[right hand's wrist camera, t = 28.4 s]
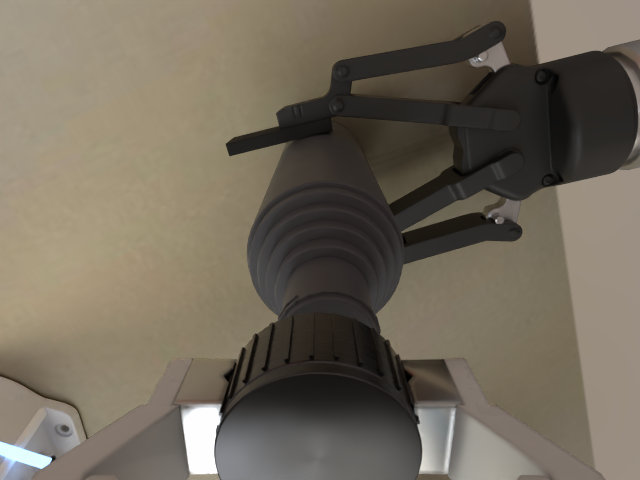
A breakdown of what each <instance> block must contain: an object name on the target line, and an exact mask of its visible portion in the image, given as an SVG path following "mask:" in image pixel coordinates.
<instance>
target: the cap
mask: <svg viewBox="0 0 640 480" xmlns="http://www.w3.org/2000/svg"><path fill="white" fill-rule="evenodd" d="M228 383H229V389H228V392H227V395H226V399H225V402H224V405H223V409H220V412H219V416H221V419H220V423H219V426H218V428H216V431H215V434H216V438H215V443H214V459H215V466H216V469H217V472H218V476H219V478H220V480H416V478H417V476H418V474H419V470H420V466H421V462H422V451H423V450H422V440H421V437H420V433H419V429H418V426H417V424H420V421H419V418H415V415H414V411H413V408H412V406H414V404H413V401H412V397H411V394H410V390H409V387H408V383H407V380H406V376H405V373H404V369H403V366H402V362H401V359H400V356H399V354H398V355H396V353H395V352H394V350H393V349H392V347H391V345H390V342H389V340H385V339H384V338H383V337H382V336H381V335H380V334H378V333H377V332H376V331H375V329H374V328H373V327H372V328H370V327H369V326H367V325H365V324H363V323H362V322H360V321H357V319H355V318H353V319H352V318H349V317H346V316H342V315H337V314H336V313H314V312H311V313H305V314H299V315H295V316H293V315H291V316H289V317H287V318H285V319H282V320H280V321H277V322H275V323H273V322H272V323H271V324H270V325H269V326H268V327H266V328H265V329H264V330H262V331H261V332H259V333H258V334H254V335H253V339H252V340H251V341H250V342H249V343H248V344H247V346H246V347H245V348H243V347H242V349H241V351H240V355H239V358H238V361H237V364H236V365H235V368H234V372H233V374H231V375H230V378H229V381H228Z"/></svg>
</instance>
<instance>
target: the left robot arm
mask: <svg viewBox="0 0 640 480" xmlns="http://www.w3.org/2000/svg"><path fill="white" fill-rule="evenodd" d="M505 34H506V29H505V26H504V24H503V23H501V22H499V21H494V22H490V23H486V24H483V25H479V26H477V27H475V28H473V29H471V30H470V31H468V32H466V33H465V34H463V35H461V36H459V37H458V38H456V39H454V40H452V41H448V42H442V43H436V44H431V45H425V46H419V47H414V48H408V49H402V50H397V51H391V52H385V53H380V54H374V55H368V56H363V57H357V58H351V59H346V60H341V61H338V62H336V63H335V64H334V66H333V68H332V76H331V85H330V89H329V91H328V93H327V94H326V95H324V96H323V97H320V98H316V99H312V100H308V101H304V102H300V103H296V104H292V105H288V106H285V107H283V108H282V109H281V110H279V111H278V112H277V113H276V115H277V119H278V123H279V126H278V127H274V128H270V129H266V130H262V131H258V132H254V133H250V134H246V135H242V136H238V137H234V138H233V139H231V140H230V141H229V142H228V143H226V147H227V150H228V153H229V156H232V155H236V154H240V153H244V152H248V151H252V150H256V149H260V148H265V147H269V146H273V145H277V144H281V143H285V142H289V141H293V140H297V139H301V138H305V137H309V136H313V135H317V134H321V133H325V132H329V131H333V128H332V123H331V117H335V116H342V117H355V118H367V119H380V120H392V121H405V122H417V123H430V124H441V125H447V126H449V132H450V135H451V138H452V140H453V142H454V152H453V162H454V165H453V166H451V167H449V168H448V169H446V170H444V171H443V172H442V173H441V174H440V176H438V177H437V178H435V179H433V180H431V181H430V182H428V183H426V184H424V185H423V186H421V187H419V188H417V189H416V190H414V191H412V192H410V193H409V194H407V195H405V196H403V197H402V198H400V199H398V200H396V201H395V202H393V203H391V204H389V207H390V209H391V211H392V213H393V215H394V217H395V219H396V221H397V224H398V226H399V228H400V231H403V230H404V229H406V228H408V227H410V226H412V225H413V224H415V223H417V222H419V221H421V220H422V219H424V218H426V217H428V216H430V215H431V214H433V213H435V212H437V211H439V210H440V209H442V208H444V207H446V206H448V205H449V204H451V203H453V202H455V201H457V200H463V199H466V198H468V197H470V196H472V195H474V194H476V193H477V192H479V191H481V190H483V189H485V190H487V191H490V192H492V193H494V194H497V195H499V196H501V198H500V200H499V201H498V202H497V203H495V204H492V205H488V206H486V207H485V208H484V209H483V212H478V213H470V214H466V215H462V216H459V217H456V218H452V219H449V220H446V221H442V222H439V223H435V224H432V225H429V226H425V227H422V228H419V229H415V230H412V231H408V232H405V233H402V238H403V244H404V261H403V264H406V263H410V262H413V261H417V260H420V259H424V258H427V257H431V256H434V255H438V254H441V253H445V252H448V251H452V250H455V249H459V248H462V247H465V246H469V245H472V244H476V243H479V242H483V241H516V240H518V239H519V238H520V237H521V235H522V228H521V227H520V226H519V225H518V224H517V219H518V214H519V209H520V204H521V200H524V199H526V198H528V197H529V196H530V195H532V194H533V193H534V192H536V191H538V190H540V189H542V188H545V187H550V186H556V185H562V184H566V183H571V182H575V181H579V180H584V179H588V178H593V177H597V176H602V175H606V174H610V173H613V172H615V171H616V170H618V169H620V170H630V169H634V168H638V167H640V40H636V41H632V42H628V43H624V44H620V45H616V46H612V47H608V48H607V49H605V50H604V51H602V52H601V51H590V52H586V53H582V54H578V55H574V56H570V57H566V58H562V59H558V60H555V61H550V62H547V63H542V64H538V65H534V66H530V67H525V66H521V65H518V64H510V61H509V58H508V56H507V53H506V50H505V48H504V45H503V42H502V40H503V39H504V37H505ZM462 61H465V63H466V64H467V65H468V66H469V67H482V66H484V67H486V68H487V69H488V70H489V73H488V74H487V75H486V76H485V77H484V78H483V79H482V81H481V82H480V83H479V84H478V85H477V86H476V87H475V88H474V89H473V90H472V91H471V92H470V93H469V95H468V96H467V97H466V98H465V99H464V100H463V101H462V102H450V101H433V100H421V99H409V98H396V97H384V96H372V95H359V94H350V92H351V84H352V81H355V80H360V79H366V78H372V77H378V76H384V75H389V74H395V73H401V72H407V71H412V70H418V69H424V68H430V67H436V66H441V65H447V64H453V63H458V62H462Z"/></svg>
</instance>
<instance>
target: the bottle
mask: <svg viewBox="0 0 640 480" xmlns="http://www.w3.org/2000/svg"><path fill="white" fill-rule="evenodd" d="M331 123H332V128H333V131H329V132H325V133H321V134H317V135H313V136H309V137H305V138H301V139H297V140H293V141H289V142H287V144H286V146H285V149H284V151H283V154H282V156H281V158H280V161H279V163H278V166H277V168H276V170H275V173H274V175H273V178H272V180H271V183H270V185H269V187H268V190H267V192H266V195H265V197H264V200H263V202H262V204H261V207H260V209H259V212H258V214H257V217H256V219H255V221H254V224H253V226H252V229H251V232H250V235H249V238H248V245H247V261H248V267H249V271H250V275H251V278H252V282H253V284H254V287H255V289H256V291H257V293H258V294H259V296H260V298H261V299H262V301H263V302H264V303H265V304H266V305H267V307H268V308H269V309H271V310H272V311H273V312H274V313H275V314H276V315H278V316H279V317H278V321H280V320H282V319H285V318H287V317H289V316H291V315H293V316H295V315H299V314H305V313H311V312H314V313H336V314H337V315H342V316H346V317H349V318H352V319H353V318H355V319H357V321H360V322H362V323H363V324H365V325H367V326H369V327H370V328H372V327H373V328H374V329H375V331H376V332H377V333H378V334H380V326H379V323H378V319H377V316H376V315H375V314H376V313H377V312H378V311H379V310H380V309H382V308H383V307H384V306H385V304H386V303H387V302H388V301H389V299H390V298H391V296H392V295H393V293H394V292H395V289H396V287H397V285H398V283H399V279H400V276H401V271H402V267H403V261H404V244H403V238H402V234H401V231H400V228H399V226H398V224H397V221H396V219H395V217H394V215H393V213H392V211H391V209H390V207H389V205H388V203H387V201H386V199H385V197H384V195H383V193H382V191H381V188H380V186H379V184H378V182H377V180H376V178H375V176H374V174H373V172H372V170H371V168H370V166H369V164H368V162H367V160H366V158H365V156H364V154H363V152H362V149H361V147H360V145H359V143H358V141H357V140H356V138H355V136H354V135H353V134H352V133H351V132H350V131H349V130H348V129H347V128H345V127H344V126H342V125H340V124H338V123H335V122H332V121H331Z"/></svg>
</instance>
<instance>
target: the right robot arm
mask: <svg viewBox="0 0 640 480" xmlns="http://www.w3.org/2000/svg"><path fill="white" fill-rule="evenodd" d="M401 362H402V366H403V369H404V373H405V376H406V380H407V383H408V387H409V390H410V394H411V397H412V401H413V404H414V406H412V408H413V411H414V415H415V418H419V421H420V424H417V426H418V429H419V433H420V437H421V440H422V450H423V451H422V462H421V466H420V470H419V474H448V477H449V478H450V479H451V480H605V479H604V477H603V476H602V474H601V473H599V472H598V471H596V470H595V469H593V468H592V467H590V466H588V465H587V464H585V463H584V462H582V461H581V460H579V459H578V458H576V457H575V456H573V455H572V454H570V453H569V452H567V451H566V450H564V449H562V448H561V447H559V446H558V445H556V444H555V443H553V442H552V441H550V440H549V439H547V438H546V437H544V436H543V435H541V434H540V433H538V432H536V431H535V430H533V429H532V428H530V427H529V426H527V425H526V424H524V423H523V422H521V421H520V420H518V419H517V418H515V417H514V416H512V415H510V414H509V413H507V412H506V411H504V410H503V409H501V408H500V407H498V406H497V405H489V403H488V401H487V399H486V397H485V395H484V393H483V391H482V389H481V387H480V385H479V384H478V382H477V380H476V378H475V376H474V374H473V372H472V370H471V368H470V366H469V364H468V362H467V361H466V360H465V359H464V358H452V359H434V360H401ZM236 364H237V359H193V358H174V359H172V360H171V361H170V362H169V363H168V365H167V367H166V369H165V371H164V373H163V375H162V376H161V378H160V380H159V382H158V384H157V386H156V388H155V390H154V392H153V393H152V395H151V397H150V399H149V401H148V403H147V405H139V406H138V407H136V408H135V409H133V410H132V411H130V412H129V413H127V414H125V415H124V416H122V417H121V418H119V419H118V420H116V421H115V422H113V423H112V424H110V425H108V426H107V427H105V428H104V429H102V430H101V431H99V432H98V433H96V434H95V435H93V436H91V437H90V438H88V439H87V438H86V435H85V432H84V429H83V426H82V423H81V420H80V417H79V414H78V412H77V410H76V409H75V408H74V407H72V406H70V405H68V404H66V403H63V402H59V401H55V400H51V399H47V398H44V397H42V396H40V395H38V394H36V393H34V392H33V391H31V390H29V389H28V388H26V387H24V386H22V385H20V384H18V383H16V382H14V381H12V380H9V379H7V378H4V377H1V376H0V480H186V479H187V478H188V477H189V476H188V474H218V472H217V469H216V466H215V459H214V443H215V438H216V434H215V431H216V428H218V426H219V423H220V419H221V416H219V412H220V409H223V405H224V402H225V399H226V395H227V392H228V389H229V383H228V381H229V378H230V375H231V374H233V372H234V368H235V365H236Z"/></svg>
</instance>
